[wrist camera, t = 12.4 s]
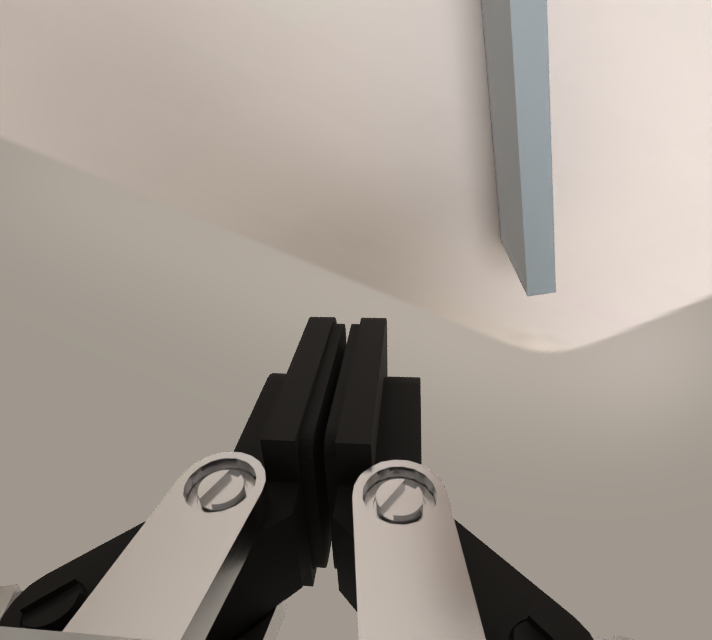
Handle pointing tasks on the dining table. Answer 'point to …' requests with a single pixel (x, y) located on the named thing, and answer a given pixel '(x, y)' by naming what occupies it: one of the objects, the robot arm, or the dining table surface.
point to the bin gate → (522, 136)
